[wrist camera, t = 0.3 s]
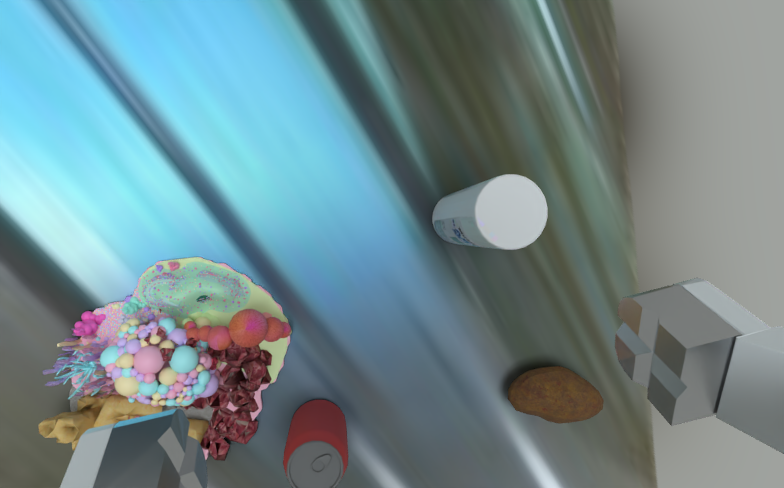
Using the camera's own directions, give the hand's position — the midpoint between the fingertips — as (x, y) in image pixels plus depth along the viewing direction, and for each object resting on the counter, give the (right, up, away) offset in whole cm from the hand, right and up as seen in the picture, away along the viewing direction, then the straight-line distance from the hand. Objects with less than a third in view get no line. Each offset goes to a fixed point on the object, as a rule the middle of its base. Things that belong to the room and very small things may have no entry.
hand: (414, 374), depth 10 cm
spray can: (+7, +5, +55) cm, 56 cm away
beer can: (-9, -19, +53) cm, 58 cm away
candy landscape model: (-26, -11, +52) cm, 59 cm away
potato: (+19, -16, +57) cm, 62 cm away
